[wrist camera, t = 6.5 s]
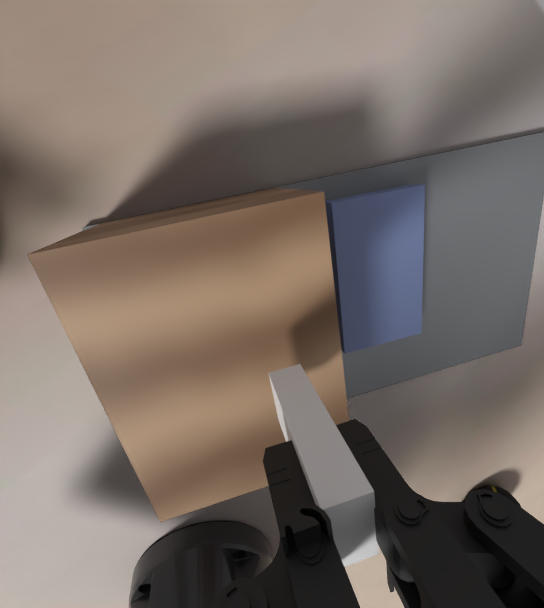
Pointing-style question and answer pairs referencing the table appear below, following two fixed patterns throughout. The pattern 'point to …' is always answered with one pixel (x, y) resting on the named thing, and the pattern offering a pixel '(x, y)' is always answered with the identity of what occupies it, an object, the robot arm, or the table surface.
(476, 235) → the mat
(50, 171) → the table surface
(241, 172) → the table surface
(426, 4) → the table surface
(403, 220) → the card box
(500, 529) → the robot arm
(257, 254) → the walnut block
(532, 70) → the table surface
